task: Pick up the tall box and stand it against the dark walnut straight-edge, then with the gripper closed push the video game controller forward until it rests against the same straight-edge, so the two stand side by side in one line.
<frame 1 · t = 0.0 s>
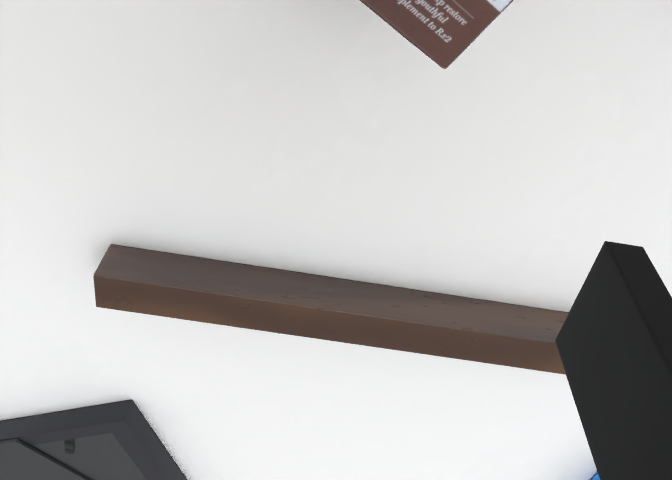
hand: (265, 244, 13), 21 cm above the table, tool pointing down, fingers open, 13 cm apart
straight edge: (372, 298, 41), on the table
picture frame: (108, 477, 54), on the table
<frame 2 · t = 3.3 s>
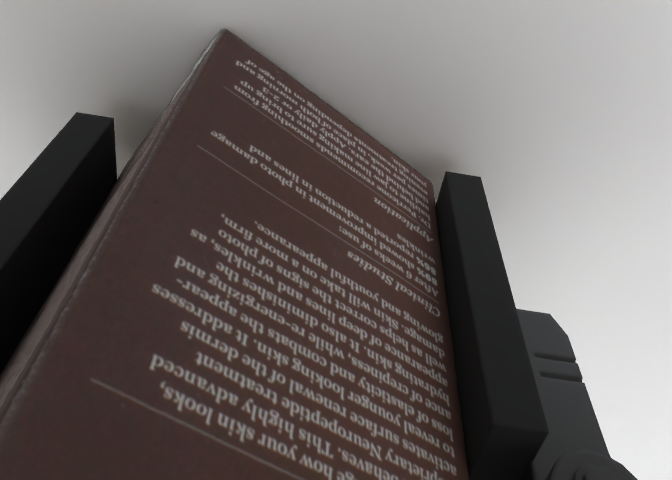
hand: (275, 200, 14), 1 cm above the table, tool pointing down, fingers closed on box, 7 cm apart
box: (281, 171, 15), on the table, touching gripper
when the fingers open (1 cm above the table, at t = 11.1 s): box stays where it is, on the table.
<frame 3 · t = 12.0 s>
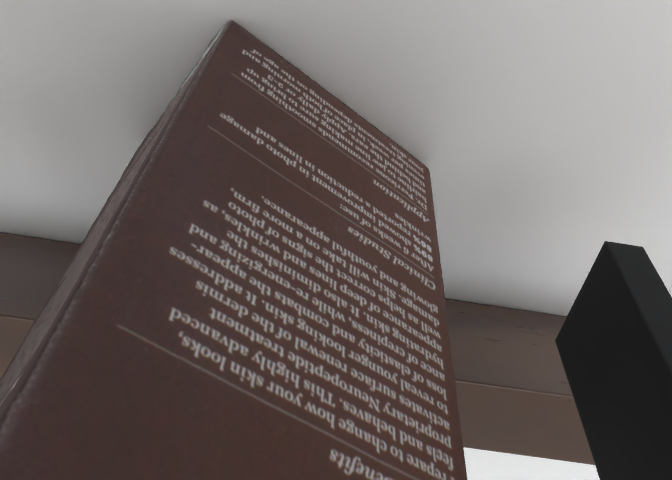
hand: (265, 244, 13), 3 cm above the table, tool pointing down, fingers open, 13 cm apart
box: (284, 158, 16), on the table
straight edge: (369, 320, 19), on the table
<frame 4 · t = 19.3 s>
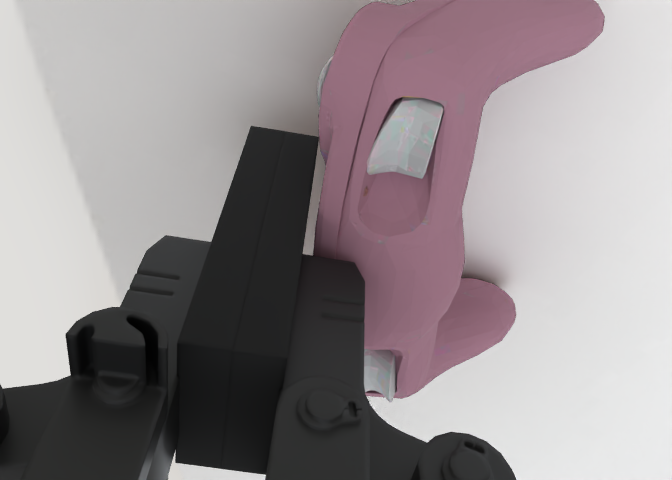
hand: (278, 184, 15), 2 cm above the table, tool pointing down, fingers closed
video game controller: (430, 155, 17), on the table, touching gripper
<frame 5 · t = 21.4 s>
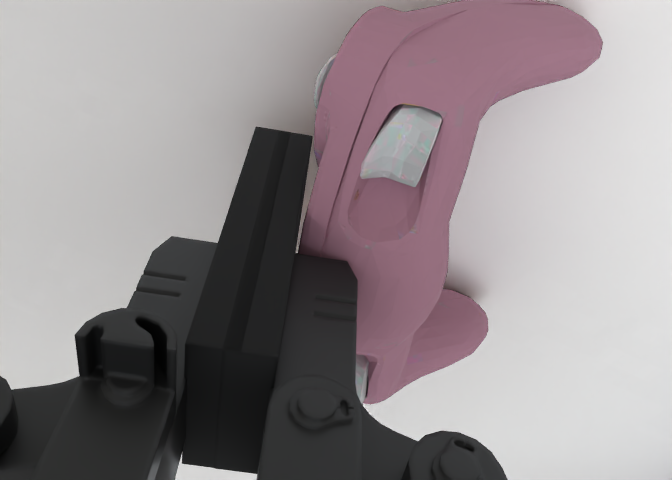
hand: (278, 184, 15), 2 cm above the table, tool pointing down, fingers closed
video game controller: (418, 164, 17), on the table, touching gripper
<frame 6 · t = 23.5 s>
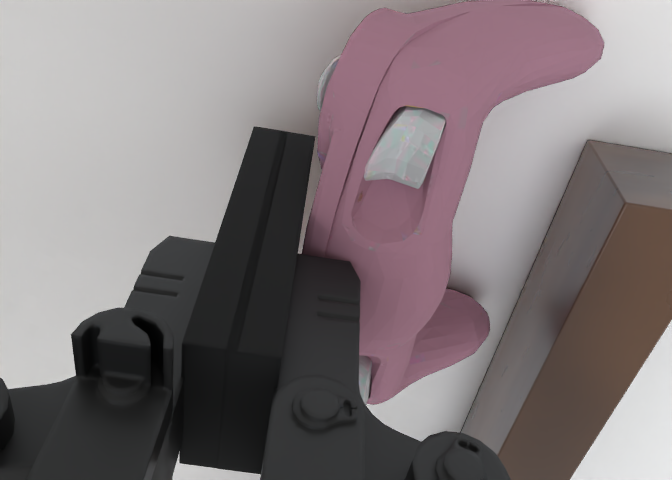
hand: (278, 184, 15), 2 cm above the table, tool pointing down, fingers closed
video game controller: (419, 164, 17), on the table, touching gripper
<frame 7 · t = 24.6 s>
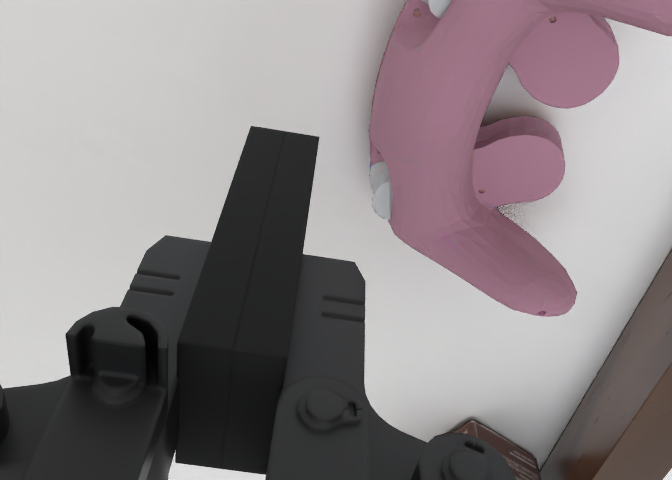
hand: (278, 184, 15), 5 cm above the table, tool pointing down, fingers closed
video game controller: (600, 126, 17), point 2 cm above the table
box: (460, 463, 29), on the table
straight edge: (587, 442, 28), on the table
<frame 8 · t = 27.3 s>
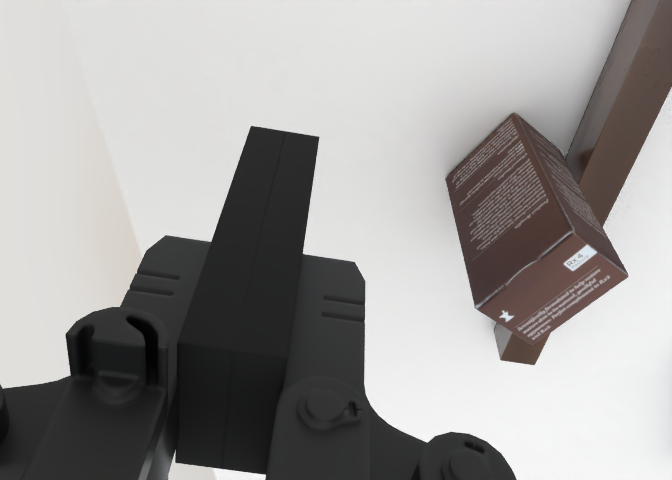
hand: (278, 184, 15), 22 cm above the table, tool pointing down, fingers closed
box: (503, 163, 39), on the table
straight edge: (597, 133, 38), on the table
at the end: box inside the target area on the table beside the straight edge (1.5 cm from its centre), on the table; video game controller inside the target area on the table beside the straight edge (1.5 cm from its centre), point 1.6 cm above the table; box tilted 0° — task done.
